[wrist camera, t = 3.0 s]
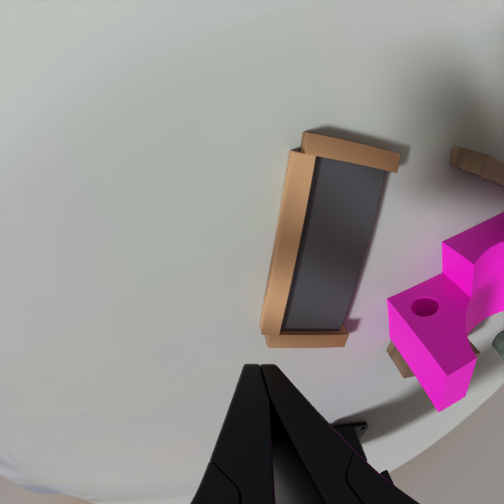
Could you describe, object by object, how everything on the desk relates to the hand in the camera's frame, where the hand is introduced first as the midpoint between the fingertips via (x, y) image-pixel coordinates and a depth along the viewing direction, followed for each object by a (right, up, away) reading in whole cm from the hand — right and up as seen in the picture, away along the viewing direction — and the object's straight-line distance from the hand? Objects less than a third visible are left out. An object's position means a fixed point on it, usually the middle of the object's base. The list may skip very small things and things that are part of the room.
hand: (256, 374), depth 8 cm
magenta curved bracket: (+16, +2, +11) cm, 19 cm away
